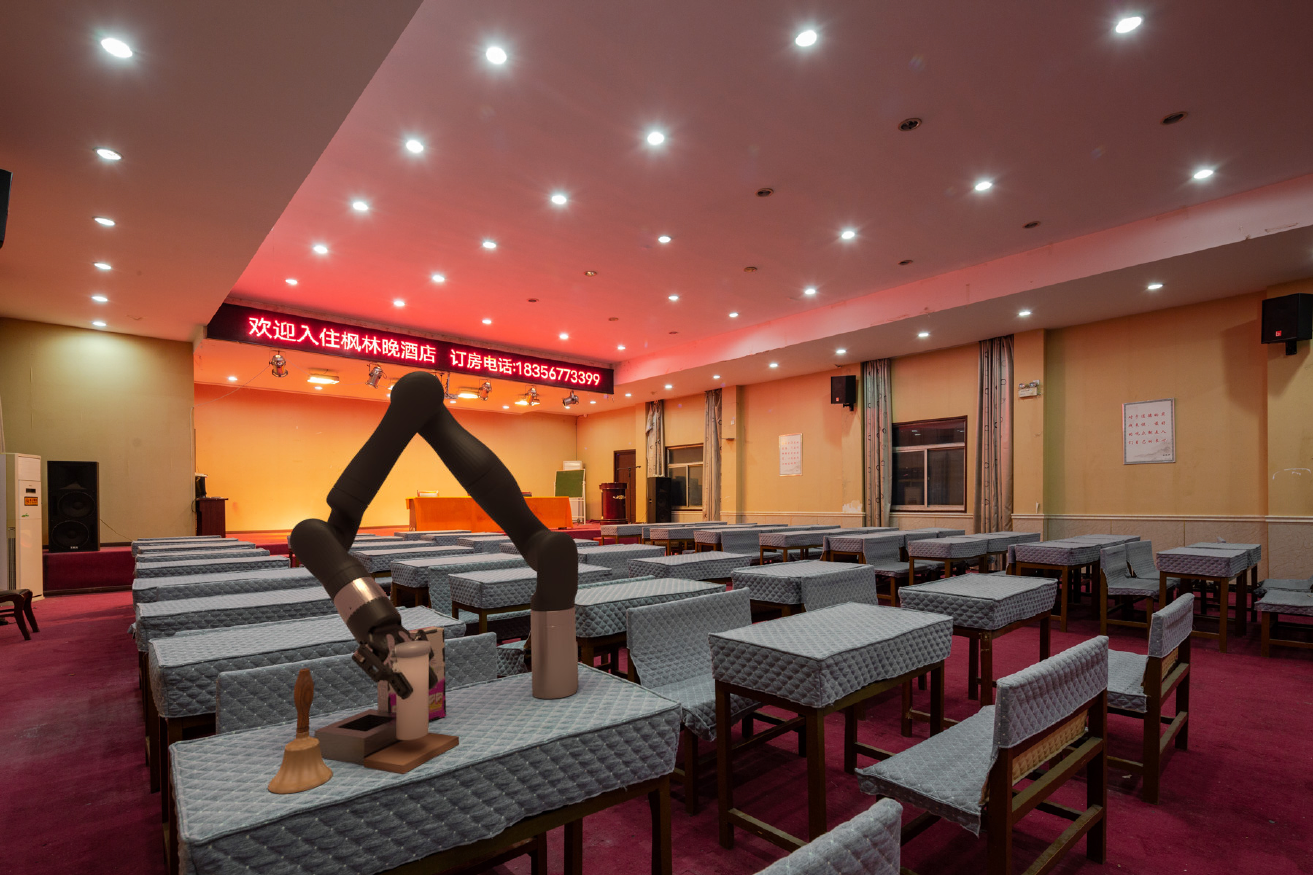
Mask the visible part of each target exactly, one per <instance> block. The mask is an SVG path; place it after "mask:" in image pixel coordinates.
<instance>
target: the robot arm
mask: <svg viewBox="0 0 1313 875" xmlns="http://www.w3.org/2000/svg"><path fill="white" fill-rule="evenodd" d="M389 395H390V396H389V401H390V403H389V405H388V407H387V409H386V411H385V413H384V415H383V417H382V419H381V420H380V422H379V423H378V425H377V427H376V428H375V429H374V431H373V433H371V435H370V436H369V438H368V439H367V440H366V442H365V443H364V444H363V445H362V447H361V448H360V449H359V451H357V452H356V454H355V455H354V456H353V458H352V459H351V460H350V461H349V462H348V464H347V466H346V467H345V469H344V470H343V472H342V473H341V474H340V475H339V477H338V478H337V480H336V482H335V483H334V484H333V486H332V487H331V489H330V490H329V492H328V494H327V495H326V498H325V501H326V504H327V505H328V507H329V508H330V509H331V510H330V514H329V516H328V518H327V521H325V520H323V519H319V518H315V517H314V518H311V517H310V518H306V519H303V520H300V521H299V522H298V523H297V524H295V526H294V527H293V528H292V529H291V532H290V535H289V545H290V549H291V551H292V553H293V555H294V556H295V557H296V559H297V560H298V562H299V563H300V564H302V566H303V567H304V568H305V569H306V570H307V571H308V572H309V573H310V574H311V576H313V577H314V578H316V580H318V582H320V583H321V585H322V587H323V588H324V590H325V592H326V593H327V594H328V596H329V598H330V599H331V601H332V602H333V604H334V606H335V608H336V610H337V612H338V614H339V617H340V618H341V620H342V621H343V623H344V624H345V626H346V627H347V629H348V630H349V632H350V633H351V635H352V637H353V638H354V639H355V641H356V642H357V644H358V645H359V646H358V648H357V649H356V650H355V651H354V652H353V654H352V656H351V660H352V661H353V662H354V663H355V664H356V665H357V666H358V667H359V668H360V669H361V670H362V671H363V672H364V673H365V674H366V675H368V677H369V678H370V679H371V680H372V681H373V682H375V683H378V682H380V680H385V681H386V682H388V683H390V685H391V686H392V688H393V689H394V691H395V692H396V694H397V695H398V696H399V697H401V698H402V699H403V700H404V699H407V698H408V697H409V696H410V695H411V694H412V692H413V688H412V686H411V685H410V683H409V682H408V680H407V679H406V677H405V676H404V675H403V673H402V672H400V673H399V666H398V663H397V657H396V656H395V646H396V645H397V644H400V643H404V642H410V641H428V639H427V636H426V634H425V632H424V630H422V629H420V628H418V629H419V630H418V632H417V633H410V632H409V631H410V630H408V629H407V628H405V627H404V626H403V623H402V619H403V618H402V615H401V613H400V612H399V611H398V609H397V608H396V606H395V605H394V604H393V602H392V601H391V599H390V597H388V595H387V594H386V592H385V591H384V589H383V588H382V586H380V584H379V583H377V581H375V579H374V578H373V577H372V575H371V574H370V572H369V571H368V570H367V568H366V566H365V565H364V564H363V562H361V561H360V560H359V559H358V558H357V557H356V556H354V555H352V554H351V553H349V552H350V550H351V548H352V547H353V544H354V542H355V540H356V537H357V535H358V531H359V529H360V528H361V527H360V526H361V524H362V521H363V517H364V514H365V511H367V509H368V508H369V506H370V504H371V503H372V502H373V500H374V498H375V497H376V496H377V494H378V493H379V491H380V489H381V487H382V486H383V484H385V482H386V480H387V478H388V476H389V475H390V473H391V471H392V469H393V468H394V466H395V465H396V463H397V462H398V460H399V458H400V457H401V455H402V454H403V452H404V450H405V449H406V448H407V446H408V445H409V444H410V443H411V441H412V440H413V438H414V437H415V436H416V434H418V435H419V436H420V438H422V439H423V440H425V442H426V443H427V444H428V445H429V446H430V447H431V448H432V450H433V451H434V452H435V453H436V455H437V456H438V457H439V460H440V461H442V464H443V465H444V466H445V467H446V468H447V470H449V472H450V473H451V475H452V476H453V477H454V479H455V480H456V481H457V482H458V484H460V486H461V487H462V489H463V490H464V491H465V492H466V493H467V494H468V495H469V496H470V497H471V499H472V500H473V501H474V502H475V503H476V504H477V505H478V506H479V507H480V509H482V511H484V512H485V514H487V516H488V517H489V518H490V519H492V521H493V522H495V524H496V525H498V527H499V528H500V529H501V530H502V531H503V532H504V533H505V535H507V537H508V538H509V540H510V541H511V542H512V545H513V546H515V549H516V550H517V551H518V553H519V554H520V556H522V557H521V558H523V560H524V561H525V563H526V564H527V565H528V567H529V568H530V569H532V570H533V571H534V572H536V588H535V591H534V592H533V594H531V597H530V640H531V641H530V642H531V647H530V648H531V689H532V691H531V692H532V693H531V694H532V696H533V697H534V698H538V699H546V700H548V699H549V700H551V699H560V698H566V697H570V696H573V695H574V694H576V692H577V691H578V688H579V657H578V654H579V653H578V651H579V650H578V641H576V640H577V639H576V638H577V637H576V634H577V633H576V597H577V594H578V590H579V552H578V547H577V544H576V542H575V540H574V538H573V537H572V536H571V535H570V534H568V533H567V532H564V531H557V530H556V531H555V530H551V529H549V527H547V526H546V525H545V524H544V523H543V522H542V521H541V520H540V519H539V518H538V517H537V516H536V514H535V513H534V512H533V511H532V510H531V508H530V506H528V504H527V501H526V500H525V497H524V495H523V494H524V493H523V491H522V490H521V488H520V486H519V483H518V482H517V479H516V478H515V477H514V475H513V474H512V472H511V471H510V470H509V469H508V467H507V466H506V465H505V464H504V462H503V461H502V460H501V459H500V458H499V456H497V454H495V452H494V451H493V450H491V449H490V448H489V447H488V446H487V445H486V444H485V443H483V441H481V440H480V439H479V438H477V437H476V436H475V435H473V434H472V433H471V432H469V431H468V430H467V429H465V427H464V426H462V425H461V424H460V422H459V421H458V420H457V419H456V418H455V417H454V415H453V414H452V413H451V411H450V410H449V408H448V407H447V405H445V403H444V401H445V396H446V395H445V389H444V385H443V384H442V381H440V379H439V378H438V376H437V375H434V374H432V373H430V372H429V371H424V370H417V371H416V370H414V371H410V372H408V373H406V374H404V375H402V377H400V378H399V379H398V380H397V381H396V382H395V384H394V385H393V386H392V388H391V391H390V394H389ZM433 657H434V652H433V650H432V648H431V652H430V653H429V661H430V660H431V659H432V658H433ZM373 667H375V668H373ZM377 669H378V672H377V671H376V670H377ZM437 683H438V678H437V675H436V674H435V673H434V671H433V670H432V668H431V667H430V665H429V690H430V689H433V688H434V687H435V685H436V684H437Z"/></svg>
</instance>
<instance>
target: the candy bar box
mask: <svg viewBox="0 0 1313 875" xmlns="http://www.w3.org/2000/svg"><path fill="white" fill-rule="evenodd" d="M419 629H422V630H424V632H425V634H426V636H427V639H428V641H429V642H431V648H432V650H433V652H434V657H433V658H432V659H431V660H430V661H429V665H430V667H431V668H432V670H433V671H434V673H435V674H436V675H437V678H438V683H437V684H436V685H435V687H434V688H433V689H430V690H429V716H428V723H430V722H433V721H436V720H439V719H442V718H446V716H447V701H446V700H447V695H446V694H447V692H446V690H447V689H446V648H445V647H446V646H445V644H446V642H445V639H446V638H445V637H446V636H445V628H444V627H441V626H435V625H431V626H427V627H425V626H424V627H421V628H415V629H410V630H408V631H409V632H410V633H417V632H418V630H419ZM376 670H377V671H376V672H378V669H377V668H376ZM396 703H397V694H396V692H395V691H394V689H393V688H392V686H391V685H390V683H388V682H386V681H385V680H380V682H377V710H382V711H389V712H396Z"/></svg>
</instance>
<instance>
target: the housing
mask: <svg viewBox="0 0 1313 875" xmlns="http://www.w3.org/2000/svg"><path fill="white" fill-rule="evenodd" d="M313 735H314V737H313V738H316V739H318V740H319V744H320V752H321V756H322V759H325V760H326V759H327V760H332V761H338V762H342V763H350V764H355V765H360V766H364V759H365V758H367V757H369V756H371V755H373V754H375V753H377V752H379V751H381V750H384V749H386V748H388V747H390V746H392V745H394V744H396V743H398V742H401V741H403V740H400V739H397V738H396V712H389V711H382V710H378V709H373V708H369V709H367V710H364V711H361V712H359V713H357V714H354V715H351V716H348V717H346V718H343V719H341V720H338V721H336V722H333V723H331V724H328V725H325V726H324V727H320V728H317V729H315V730H314V734H313Z"/></svg>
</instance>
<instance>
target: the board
mask: <svg viewBox="0 0 1313 875" xmlns="http://www.w3.org/2000/svg"><path fill="white" fill-rule="evenodd" d="M459 744H460V736H457V735H452V734H451V735H449V734H443V733H435V732H430V731H428V734H427V735H425V736H423V737H421V738H417V739H413V740H403V741H401V742H398V743H396V744H394V745H392V746H390V747H388V748H386V749H384V750H381V751H379V752H377V753H375V754H373V755H371V756H369V757H367V758H365V759H364V765H363V768H367V769H373V770H379V771H386V772H391V773H394V774H395V773H396V774H402V775H404V774H406V773H408V772H409V771H411V770H414V769H416V768H417V767H420V766H421V765H423V764H424V763H426V762H428V761H430V760H432V759H434V758H436V757H438V756H439V755H441V754H443V753H445V752H447V751H449V750H451V749H452V748H455V747H457V746H458V745H459Z"/></svg>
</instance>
